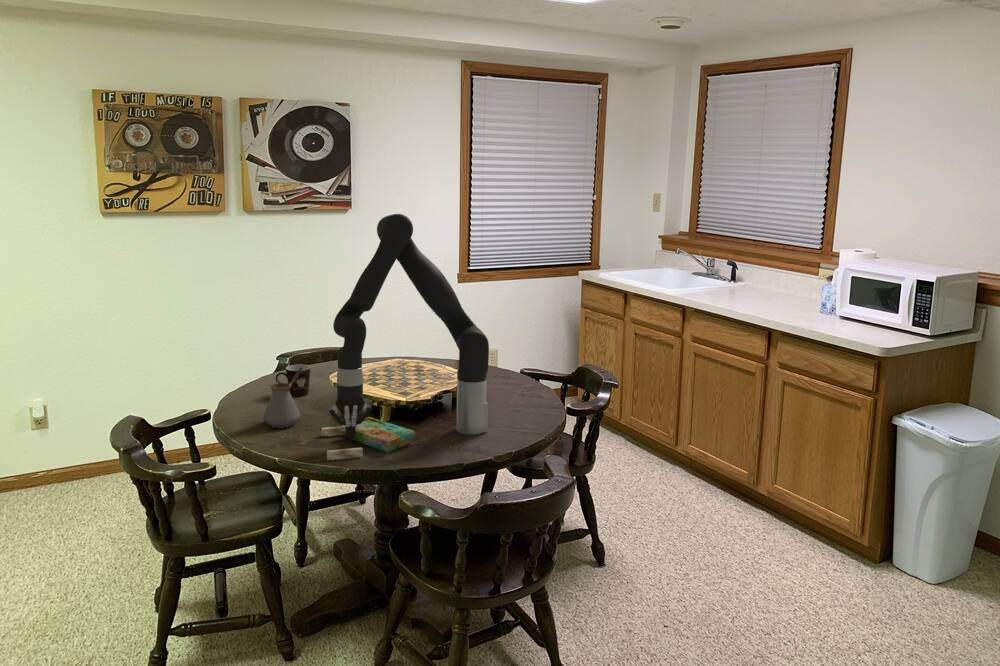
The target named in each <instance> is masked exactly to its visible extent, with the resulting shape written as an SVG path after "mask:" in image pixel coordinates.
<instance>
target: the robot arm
mask: <svg viewBox="0 0 1000 666" xmlns="http://www.w3.org/2000/svg"><path fill="white" fill-rule="evenodd" d="M413 232H414V226H413V223H412V221H411V219H410V218H409V217H408V216H406V215H405V214H402V213H392V214H390V215H389V214H388V215H386V216H384V217H381V218H380V220H379V221H378V223H377V226H376V234H377V237H378V239H379V240H380V241H379V244H378V247H377V248H376V251H375V253H374V254H373V256H372V258H371V260H370V261H369V263H368V264H367V265H366V267H365V269H364V270H363V271H362V273H361V274H360V276H359V278H358V279H357V281H356V284H355V286H354V288H353V291H352V293H350V294H351V295H350V296H349V299H348V300H347V301H346V302H345V303H344V304H343V306H342V307H341V309H340V310H339V311H338V312H337V314H336V315H335V318H334V320H333V323H332V324H333V326H332V327H333V331H334V333H335V334H336V335H337V336H339V337H341V338H343V346H341V347H340V348H339V349H337V370H336V371H337V372H336V400H335V402H334V403H335V404H334V405H333V406H331V407H329V408H328V411H329V414H330V415H331V416H332V417H333V418H334V420H336V422H337V423H338V424H339V426H343V425H344V426H345V434H346V435H345V436H346V437H347V439H352V438H353V436H355V435H356V425H358V424H361V423H362V422H363V421H364V419H365V418H367V417H368V415H370V413H371V412H372V409H373V408H372V406H371V405H369V404H368V403H366V402H365V400H364V373H363V350H364V347H365V342H366V339H367V325H366V323H365V321H364V320H363V319H362V318H361V316H362V315H363V314H364V313H365V312H370V310H371V309H372V308H373V307H374V306H375V305H374V304H375V303H376V300H377V298H378V296H379V294H380V291H381V290H382V288H383V285H384V283H385V281H386V279H387V277H388V275H389V273H390V271H391V269H392V267H393V266H394V264H395V262H396V261H397V262H398V263H399V264H400V266H401V267H402V269H403V270H404V272H405V274H406V275H407V277H408V278H409V281H410V282H411V283H412V284H413V286H414V287H415V289H416V290H417V292H418V294H419V296H420V297H421V298H422V299H423V300H424V302H425V304H427V306H428V307H429V308H430V310H431V311H432V312H433V313H434V314H435V315H436V316H437V317H438V318H439V319H440V320H441V321H442V323H444V325H445V327H446V328H447V330H448V331H449V333H450V334H451V337H452V339H453V340H454V342H455V345H456V347H457V349H458V352H459V353H458V368H457V371H456V381H457V382H456V424H455V425H456V432H458V433H459V434H460V435H461V434H462V435H466V436H476V435H477V434H478V435H481V433H482V434H483V432H484V433H488V416H489V415H488V414H489V412H488V411H489V403H488V402H487V376H488V371H489V358H490V357H489V356H490V355H489V354H490V344H489V343H490V342H489V339H488V338H487V335H486V334H484V331H482V330H481V329H480V328H479V327H478V326H477V325H476V324H475V323H474V322H473V320H472V319H471V318H470V317H469V315H467V313H466V312H465V310H464V309H463V306H462V304H461V303H460V300H459V299H458V296H457V294H456V292H455V291H454V289H453V287H452V285H451V284H450V282H449V280H448V279H447V278H446V276H445V275H444V274H443V272H442V271H441V270H440V268H439V267H438V266H436V265H435V263H433V262H432V260H430V259H429V258H428V257H427V256H426V255H425V254H424V253H423V252H421V250H420V249H419V248H418V247H417V245H416V244H415V242H414V240H413V239H412V236H413ZM361 410H362V411H361ZM338 411H339V412H340V413H341V414H342V415H343V417H341V415H339V414H338ZM360 411H361V413H360ZM359 413H360V414H359ZM358 414H359V416H358ZM357 416H358V417H357ZM343 418H344V419H343ZM350 423H351V425H350Z"/></svg>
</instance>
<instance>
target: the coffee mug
mask: <svg viewBox="0 0 1000 666" xmlns="http://www.w3.org/2000/svg"><path fill="white" fill-rule="evenodd" d="M301 367H302V368H304V369H305V370H304V369H302V371H301V373H300V374H299V375H298V378H297V379H296V380H295V381H294V383H293V384H292V385H291V388H290V390H289V392H290V394H291V396H294V398H302V396H303V397H306V395H307V396H308V395H309V389H310V378H311V369H312V367H311V366H310V365H308V364H292V365H287V366H286V367H285V372H279V373H277V374H276V375H275V380H276V382H277V383H281V382H280V381H279V380H278V378H279V376H280V375H284V376H285V378H287V379H286V380H287V383H288V384H290V382H291V380H292V379H293V377H294V375H295V374H296V373H297V371H298V370H299V369H300V368H301Z"/></svg>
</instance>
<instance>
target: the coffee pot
mask: <svg viewBox="0 0 1000 666" xmlns="http://www.w3.org/2000/svg"><path fill="white" fill-rule="evenodd" d="M302 369H304V368H302V367H301V368H300V369H299V370H298V371H297V373H296V374H295V375H294V377H293V379H292V380H291V382H290V384H288V382H280V383H278V382H277V383H274V384H270V386H269V388H270V389H271V393H272V394H271V396H270V398H269V400H268V403H267V405H266V407H265V411H264V413H263V415H262V418H263V420H264V422H265V423H266V424H267V425H269V426H270V425H271V426H272V427H271V426H270V427H271V428H274V427H277V428H276V429H284V427H286V428H290V427H293V426H294V425H295V423H297V422H298V421H299V419H300V417H301V413H300V410H299V408H298V407H297V405H296V402H295V401H294V398H293V397H292V396H291V394H290V391H289V390H290V388H291V385H292V384H293V383H294V381H295V380H296V379H297V378H298V375H299V374H300V373H301V371H302ZM304 370H305V369H304ZM289 426H290V427H289Z"/></svg>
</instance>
